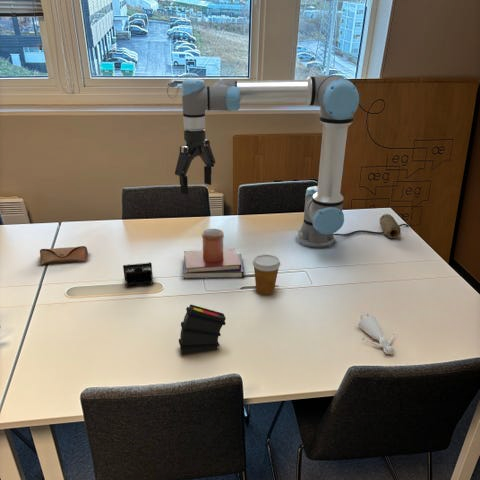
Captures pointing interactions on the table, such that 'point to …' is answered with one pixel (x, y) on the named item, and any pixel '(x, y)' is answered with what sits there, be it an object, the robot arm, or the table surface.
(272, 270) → the disposable coffee cup
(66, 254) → the sunglasses case
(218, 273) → the navy book
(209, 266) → the burgundy book
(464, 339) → the table surface
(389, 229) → the stone weight
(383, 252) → the table surface
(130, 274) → the end cap
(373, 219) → the table surface
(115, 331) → the table surface
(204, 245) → the terracotta pot
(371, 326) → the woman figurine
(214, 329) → the magazine
